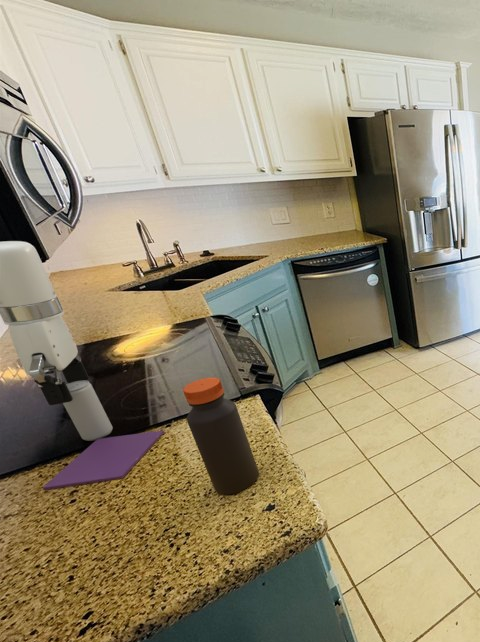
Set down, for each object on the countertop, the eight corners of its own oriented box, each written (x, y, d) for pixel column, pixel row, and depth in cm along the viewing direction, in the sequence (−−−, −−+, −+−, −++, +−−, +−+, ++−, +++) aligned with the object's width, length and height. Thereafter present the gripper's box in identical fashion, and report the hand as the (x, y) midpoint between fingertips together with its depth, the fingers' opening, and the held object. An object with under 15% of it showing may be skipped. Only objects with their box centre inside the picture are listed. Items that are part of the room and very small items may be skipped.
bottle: (214, 502, 68) (173, 400, 60) (215, 478, 74) (176, 382, 66) (260, 485, 72) (227, 387, 64) (258, 463, 77) (226, 370, 69)
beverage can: (76, 440, 84) (49, 390, 80) (103, 426, 89) (78, 378, 84) (94, 443, 83) (67, 393, 79) (119, 429, 88) (95, 381, 83)
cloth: (43, 490, 72) (42, 487, 71) (98, 441, 84) (97, 438, 84) (122, 478, 74) (121, 476, 74) (164, 432, 86) (163, 430, 86)
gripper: (23, 301, 80) (60, 378, 86) (-24, 329, 66) (24, 418, 73) (75, 295, 83) (107, 369, 90) (41, 321, 70) (82, 406, 76)
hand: (70, 391), depth 81 cm, fingers open, 9 cm apart
